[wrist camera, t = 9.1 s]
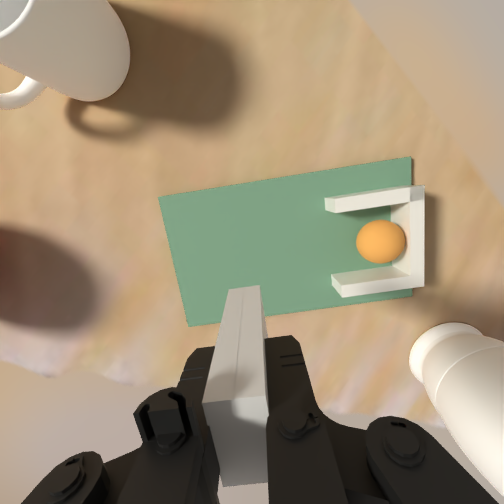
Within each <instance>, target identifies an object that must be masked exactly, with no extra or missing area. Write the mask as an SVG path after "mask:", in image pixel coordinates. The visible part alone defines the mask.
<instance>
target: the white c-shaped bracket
mask: <svg viewBox="0 0 504 504" xmlns="http://www.w3.org/2000/svg"><path fill="white" fill-rule="evenodd" d="M424 188H425V185H404V186H397V187H390V188H384V189H377V190H371V191H364V192H358V193H352V194H345V195H339V196H332V197H326V198H325V210H327V211H330V212H333V213H340V212H347V211H353V210H360V209H366V208H373V207H380V206H386V205H390V208H391V222H393V223H394V224H396V225H397V226H398V227H399V228H400V229H401V230H402V232H403V234H404V237H405V245H404V249H403V251H402V253H401V254H400V255H399V256H398V257H397V258H396V259H394V260H393V261H392V266H386V267H379V268H372V269H365V270H358V271H350V272H343V273H336V274H331V279H332V286H333V287H334V288H335V289H336V291H337V292H338V293H339V294H340V296H341V297H342V298H344V297H351V296H358V295H365V294H373V293H380V292H387V291H394V290H402V289H409V288H416V287H423V286H424Z"/></svg>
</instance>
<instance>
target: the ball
mask: <svg viewBox="0 0 504 504" xmlns="http://www.w3.org/2000/svg"><path fill="white" fill-rule="evenodd" d="M404 245H405V237H404V234H403V232H402V230H401V229H400V228H399V227H398V226H397V225H396V224H394V223H393V222H390V221H387V220H375V221H372V222H369V223H367V224H366V225H364V226H363V227H362V228H361V230H360V231H359V233H358V235H357V239H356V246H357V249H358V251H359V253H360V254H361V256H362V257H363V258H365V259H366V260H368V261H370V262H373V263H379V264H382V263H387V262H390V261H393V260H394V259H396V258H397V257H398V256H399V255H400V254H401V253H402V251H403V249H404Z"/></svg>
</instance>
